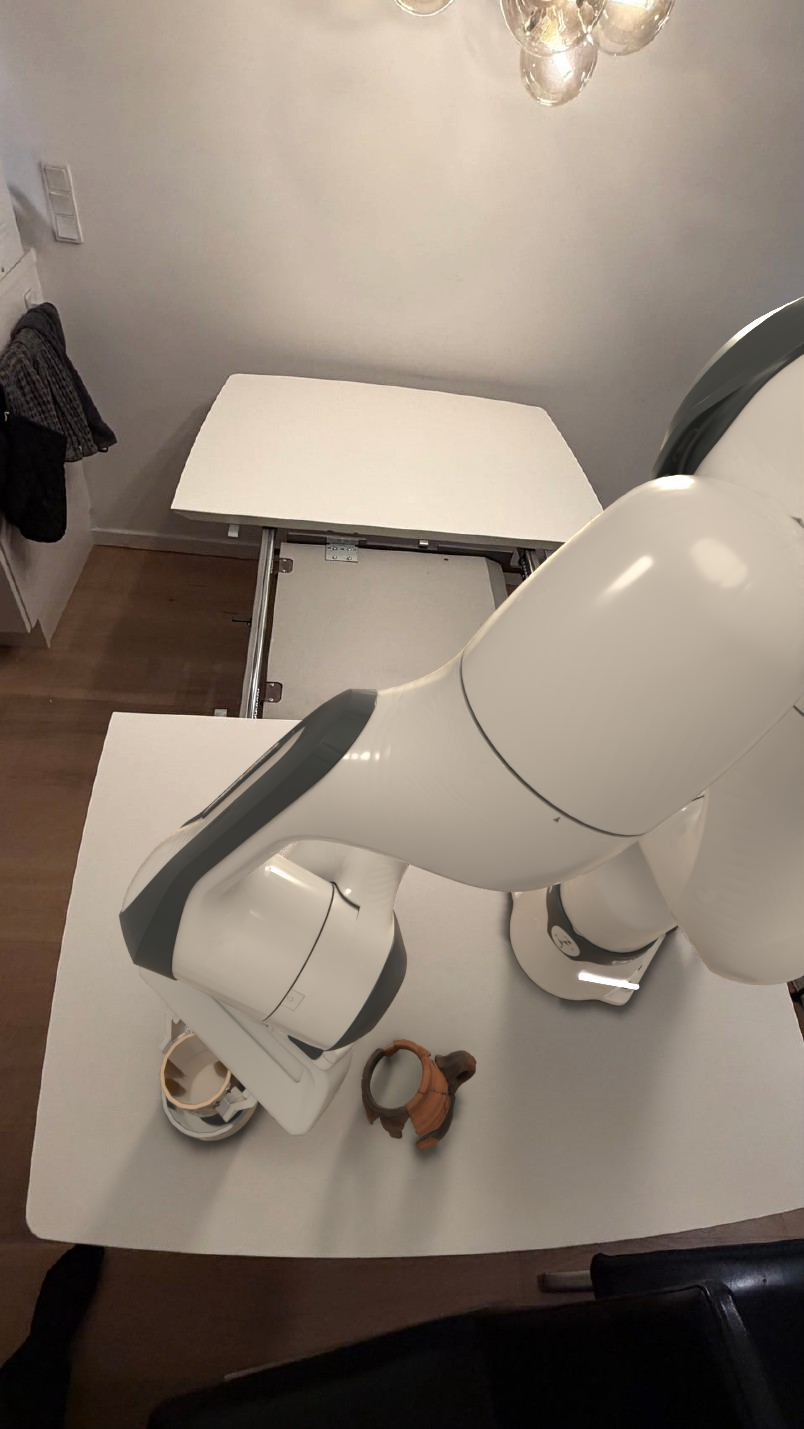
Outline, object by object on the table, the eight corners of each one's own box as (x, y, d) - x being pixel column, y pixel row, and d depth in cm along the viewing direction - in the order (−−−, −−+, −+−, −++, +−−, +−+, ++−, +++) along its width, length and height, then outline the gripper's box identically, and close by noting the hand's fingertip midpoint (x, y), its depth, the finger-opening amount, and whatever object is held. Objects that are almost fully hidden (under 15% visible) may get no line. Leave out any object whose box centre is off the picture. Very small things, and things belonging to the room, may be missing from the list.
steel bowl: (232, 1023, 72) (226, 1011, 66) (277, 1097, 68) (276, 1090, 63) (155, 1081, 68) (143, 1073, 62) (200, 1162, 64) (191, 1161, 59)
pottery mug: (402, 1178, 66) (374, 1148, 61) (367, 1092, 74) (339, 1059, 69) (503, 1107, 68) (483, 1072, 63) (458, 1030, 76) (438, 994, 71)
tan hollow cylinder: (218, 1034, 64) (209, 1016, 57) (251, 1086, 62) (245, 1074, 55) (164, 1075, 62) (147, 1062, 55) (195, 1132, 60) (182, 1126, 52)
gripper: (166, 891, 55) (91, 1012, 58) (351, 1074, 49) (258, 1197, 52) (213, 873, 61) (143, 983, 64) (383, 1034, 55) (298, 1147, 58)
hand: (196, 1081), depth 58 cm, fingers closed on tan hollow cylinder, 6 cm apart
